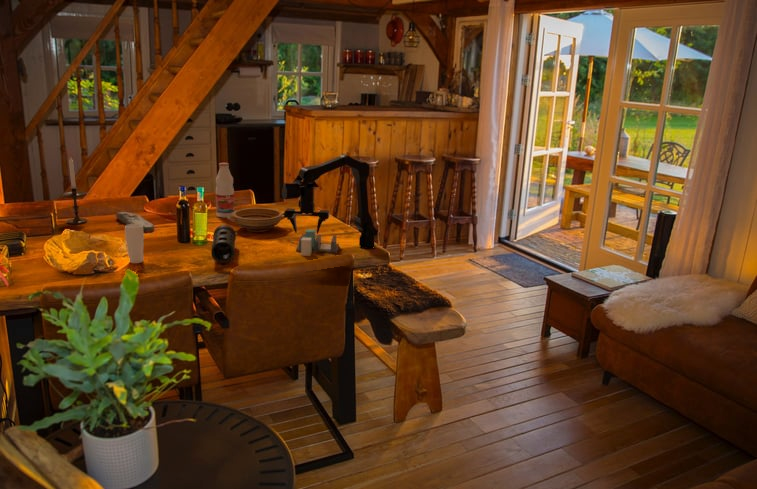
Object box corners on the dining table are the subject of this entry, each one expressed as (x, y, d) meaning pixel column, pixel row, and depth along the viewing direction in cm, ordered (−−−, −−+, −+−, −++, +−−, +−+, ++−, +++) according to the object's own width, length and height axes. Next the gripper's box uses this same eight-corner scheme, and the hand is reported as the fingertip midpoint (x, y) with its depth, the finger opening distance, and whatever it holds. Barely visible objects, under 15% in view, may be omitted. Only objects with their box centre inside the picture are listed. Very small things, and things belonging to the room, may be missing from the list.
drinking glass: (147, 259, 245) (145, 223, 241) (142, 264, 238) (139, 228, 234) (130, 258, 244) (128, 223, 240) (124, 264, 238) (121, 227, 234)
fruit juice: (232, 213, 325) (230, 161, 317) (236, 217, 317) (235, 164, 309) (214, 214, 321) (212, 162, 313) (218, 218, 313) (217, 165, 305)
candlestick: (82, 225, 289) (75, 152, 279) (60, 224, 289) (52, 151, 279) (93, 220, 299) (87, 149, 290) (71, 219, 300) (64, 148, 290)
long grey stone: (139, 236, 280) (160, 234, 287) (139, 226, 279) (160, 224, 286) (110, 217, 304) (130, 216, 311) (110, 207, 302) (130, 206, 309)
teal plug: (306, 244, 271) (306, 229, 269) (315, 244, 271) (315, 229, 269) (305, 246, 267) (305, 231, 265) (314, 247, 267) (314, 232, 265)
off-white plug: (311, 253, 263) (311, 237, 261) (310, 255, 259) (310, 240, 257) (302, 252, 263) (302, 237, 261) (301, 255, 259) (301, 239, 257)
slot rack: (338, 246, 275) (339, 235, 273) (336, 253, 264) (337, 242, 263) (299, 244, 275) (299, 233, 273) (296, 251, 264) (296, 240, 263)
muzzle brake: (211, 266, 241) (210, 241, 238) (214, 246, 267) (213, 223, 264) (235, 265, 243) (234, 241, 240) (236, 245, 269) (235, 223, 266)
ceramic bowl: (280, 221, 313) (280, 206, 311) (293, 233, 292) (293, 217, 290) (222, 224, 301) (222, 209, 299) (232, 237, 280) (232, 221, 278)
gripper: (330, 194, 261) (330, 229, 266) (288, 192, 261) (288, 227, 266) (328, 200, 251) (327, 236, 255) (283, 198, 251) (283, 234, 255)
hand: (306, 233), depth 258 cm, fingers open, 9 cm apart
